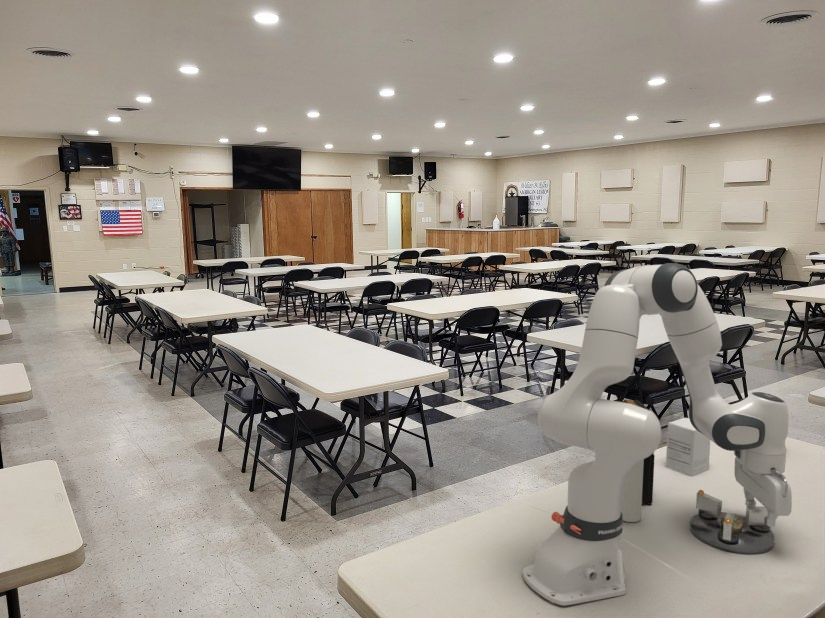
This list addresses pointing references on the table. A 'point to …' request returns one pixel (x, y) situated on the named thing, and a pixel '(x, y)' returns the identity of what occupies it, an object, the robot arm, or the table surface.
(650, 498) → the voltmeter
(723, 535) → the knob near
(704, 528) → the plate
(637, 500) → the paper towel roll
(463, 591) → the table surface
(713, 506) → the knob left
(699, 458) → the supplement box
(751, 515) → the grey lever knob
